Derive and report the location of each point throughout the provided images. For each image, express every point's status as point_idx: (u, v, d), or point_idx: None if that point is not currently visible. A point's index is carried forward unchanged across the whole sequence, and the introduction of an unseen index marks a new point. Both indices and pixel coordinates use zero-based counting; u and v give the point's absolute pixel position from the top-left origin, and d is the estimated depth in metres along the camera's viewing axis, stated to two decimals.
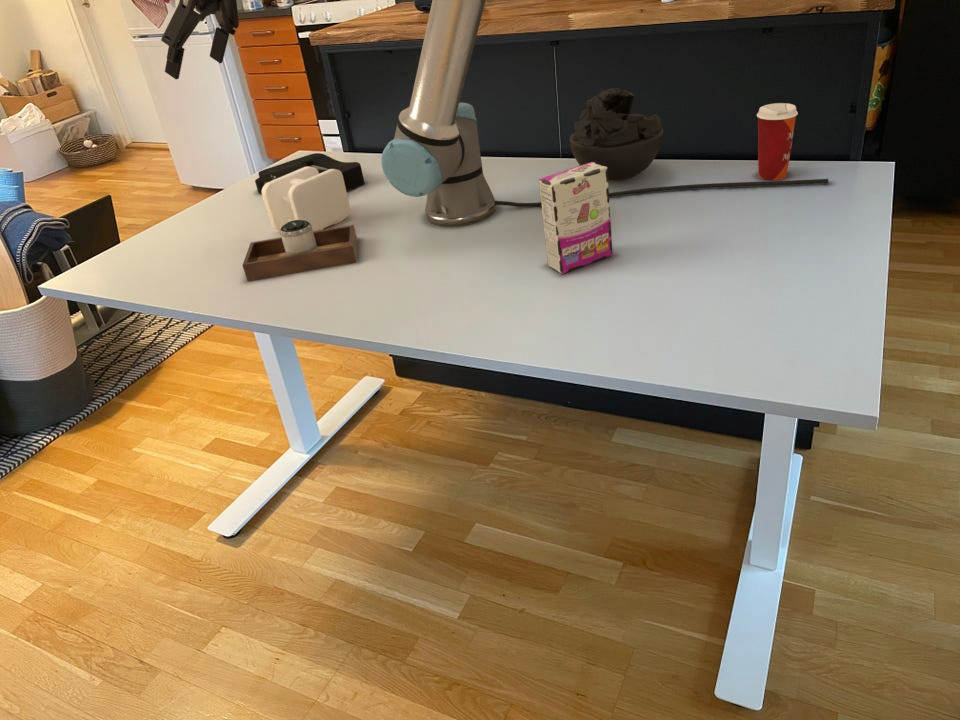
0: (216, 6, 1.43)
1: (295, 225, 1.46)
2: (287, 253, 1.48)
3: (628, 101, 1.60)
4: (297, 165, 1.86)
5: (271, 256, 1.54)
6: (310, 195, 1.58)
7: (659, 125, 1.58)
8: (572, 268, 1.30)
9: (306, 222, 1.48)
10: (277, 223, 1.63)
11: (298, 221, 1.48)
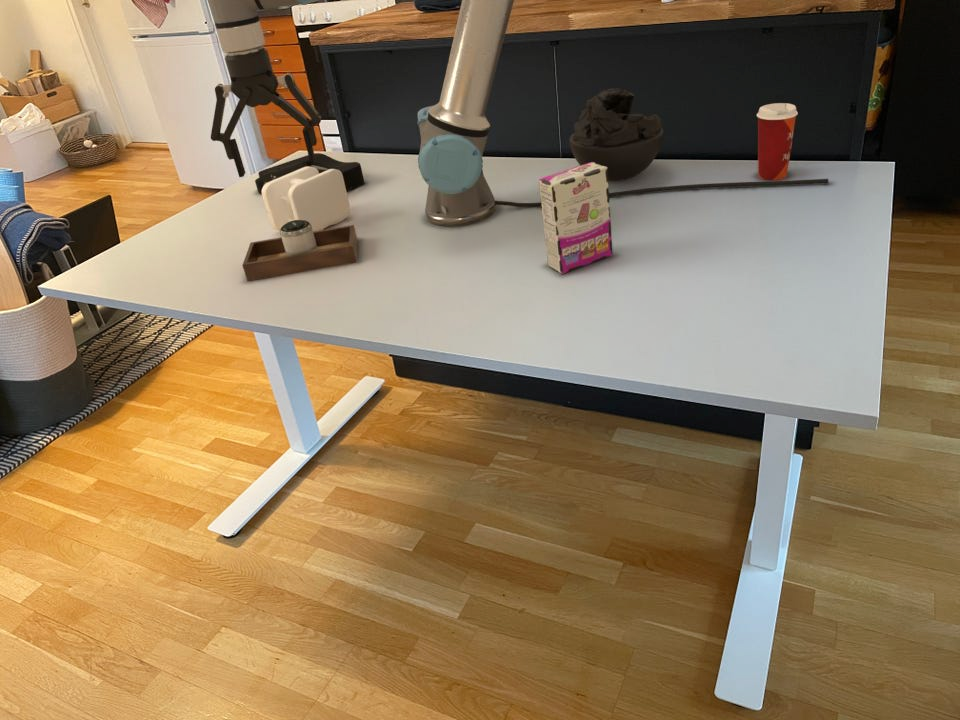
0: (263, 95, 1.34)
1: (295, 225, 1.46)
2: (287, 253, 1.48)
3: (628, 101, 1.60)
4: (297, 165, 1.86)
5: (271, 256, 1.54)
6: (310, 195, 1.58)
7: (659, 125, 1.58)
8: (572, 268, 1.30)
9: (306, 222, 1.48)
10: (277, 223, 1.63)
11: (298, 221, 1.48)
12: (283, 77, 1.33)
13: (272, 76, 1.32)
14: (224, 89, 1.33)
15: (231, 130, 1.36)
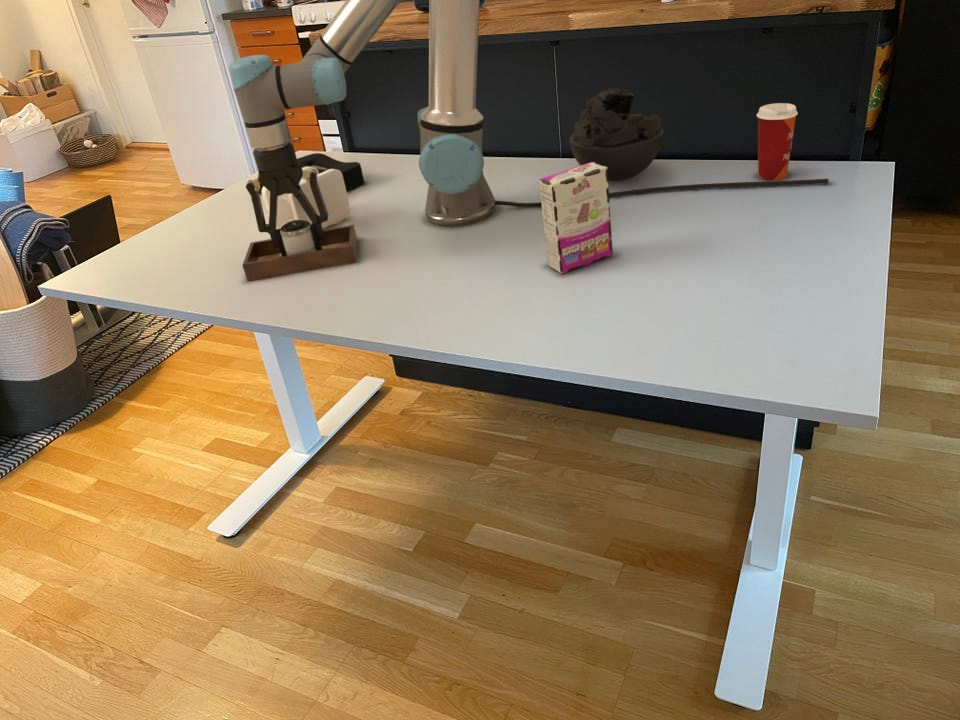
0: (286, 185, 1.42)
1: (295, 225, 1.46)
2: (287, 253, 1.48)
3: (628, 101, 1.60)
4: None
5: (271, 256, 1.54)
6: (310, 195, 1.58)
7: (659, 125, 1.58)
8: (572, 268, 1.30)
9: (306, 222, 1.48)
10: (276, 223, 1.63)
11: (298, 221, 1.48)
12: (309, 173, 1.42)
13: (297, 168, 1.41)
14: (254, 184, 1.42)
15: (274, 221, 1.45)
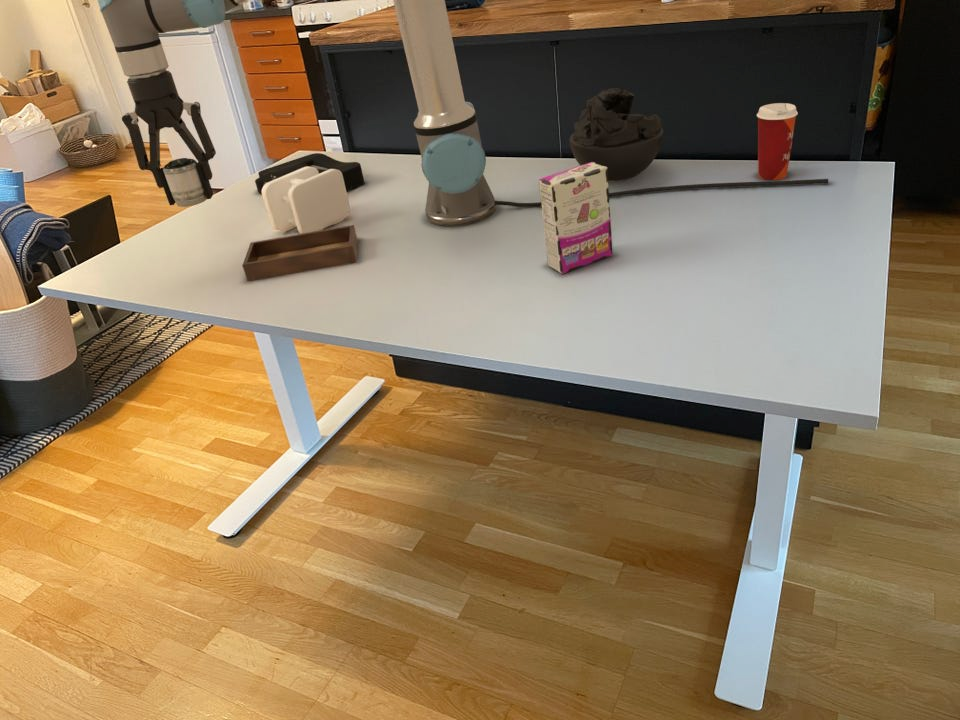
0: (165, 118, 1.33)
1: (179, 162, 1.38)
2: (172, 193, 1.40)
3: (628, 101, 1.60)
4: (297, 165, 1.86)
5: (271, 256, 1.54)
6: (310, 195, 1.58)
7: (659, 125, 1.58)
8: (572, 268, 1.30)
9: (192, 160, 1.39)
10: (276, 223, 1.63)
11: (183, 159, 1.39)
12: (190, 105, 1.33)
13: (176, 99, 1.32)
14: (131, 116, 1.33)
15: (155, 157, 1.36)
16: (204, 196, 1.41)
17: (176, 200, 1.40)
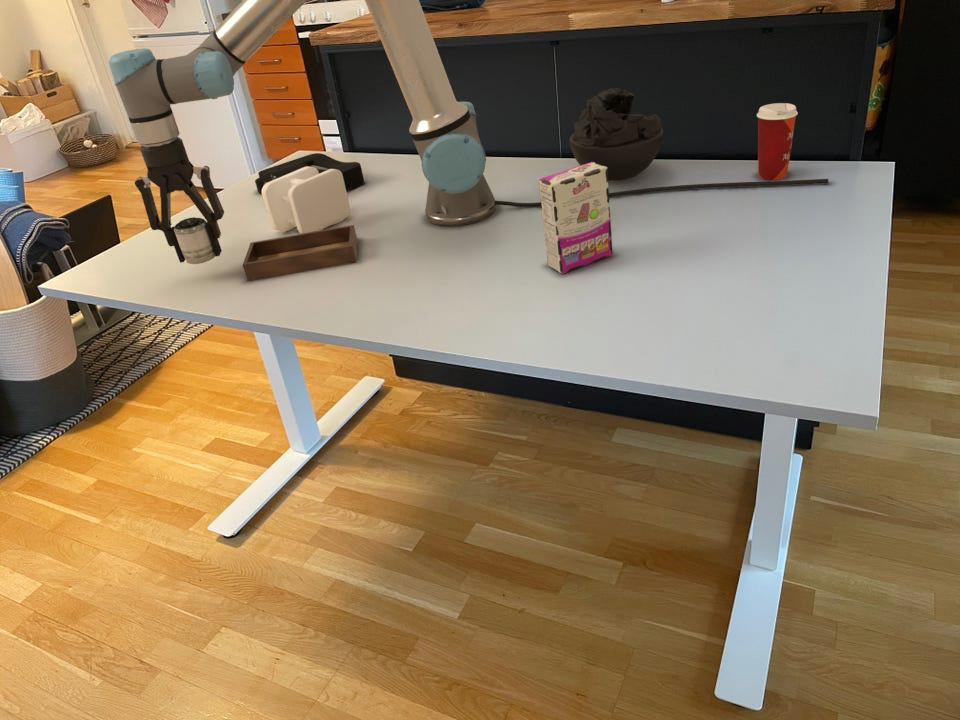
0: (176, 182, 1.39)
1: (189, 222, 1.44)
2: (182, 251, 1.46)
3: (628, 101, 1.60)
4: (297, 165, 1.86)
5: (271, 256, 1.54)
6: (310, 195, 1.58)
7: (659, 125, 1.58)
8: (572, 268, 1.30)
9: (201, 220, 1.45)
10: (276, 223, 1.63)
11: (193, 219, 1.45)
12: (200, 169, 1.39)
13: (187, 164, 1.38)
14: (143, 181, 1.39)
15: (166, 218, 1.42)
16: (213, 253, 1.47)
17: (186, 258, 1.46)
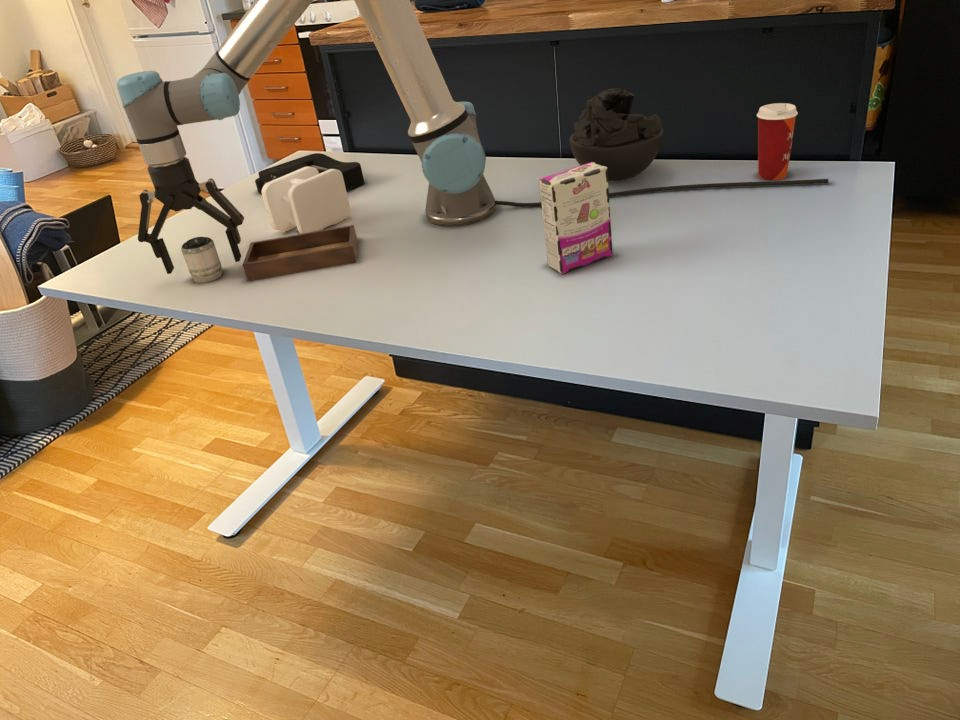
0: (186, 201, 1.41)
1: (196, 242, 1.46)
2: (189, 270, 1.48)
3: (628, 101, 1.60)
4: (297, 165, 1.86)
5: (271, 256, 1.54)
6: (310, 195, 1.58)
7: (659, 125, 1.58)
8: (572, 268, 1.30)
9: (208, 239, 1.47)
10: (277, 223, 1.63)
11: (200, 238, 1.47)
12: (204, 184, 1.41)
13: (194, 183, 1.40)
14: (149, 195, 1.41)
15: (157, 232, 1.44)
16: (220, 272, 1.49)
17: (193, 276, 1.48)
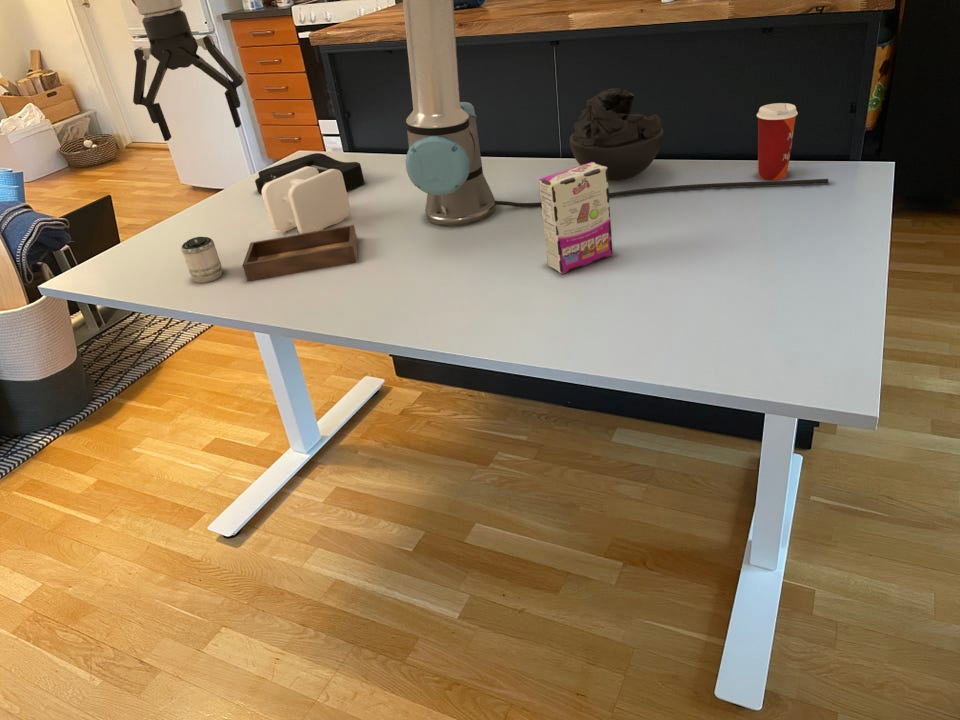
0: (182, 58, 1.36)
1: (196, 242, 1.46)
2: (189, 270, 1.48)
3: (628, 101, 1.60)
4: (297, 165, 1.86)
5: (271, 256, 1.54)
6: (310, 195, 1.58)
7: (659, 125, 1.58)
8: (572, 268, 1.30)
9: (208, 239, 1.47)
10: (276, 223, 1.63)
11: (200, 238, 1.47)
12: (202, 39, 1.35)
13: (191, 38, 1.34)
14: (144, 52, 1.35)
15: (153, 93, 1.38)
16: (220, 272, 1.49)
17: (193, 276, 1.48)
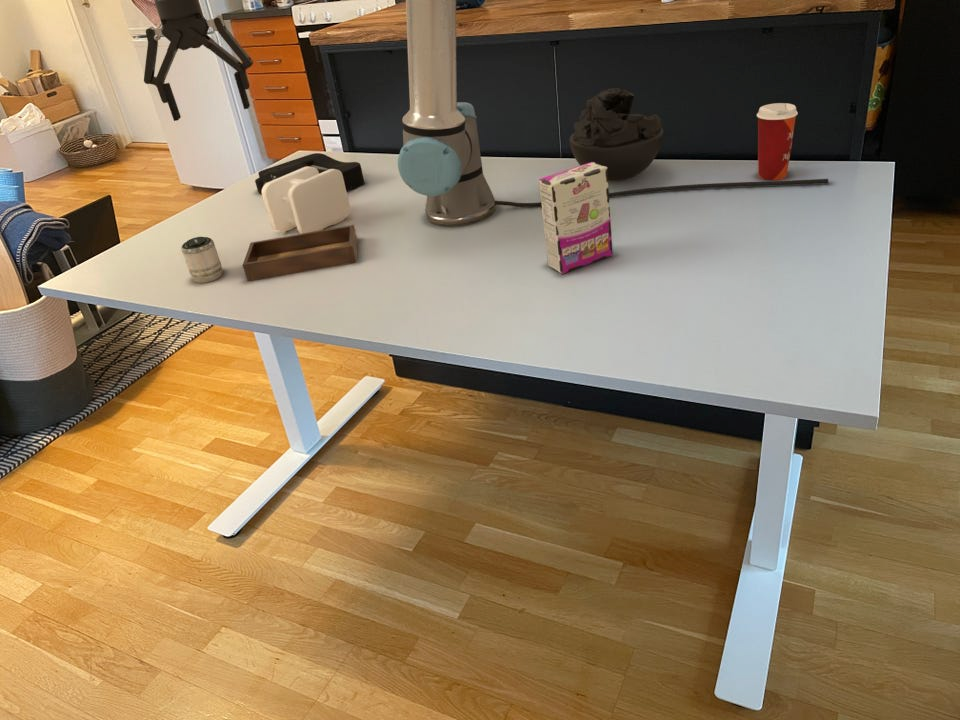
0: (193, 38, 1.37)
1: (196, 242, 1.46)
2: (189, 270, 1.48)
3: (628, 101, 1.60)
4: (297, 165, 1.86)
5: (271, 256, 1.54)
6: (310, 195, 1.58)
7: (659, 125, 1.58)
8: (572, 268, 1.30)
9: (208, 239, 1.47)
10: (276, 223, 1.63)
11: (200, 238, 1.47)
12: (213, 20, 1.37)
13: (202, 19, 1.36)
14: (155, 32, 1.36)
15: (164, 73, 1.39)
16: (220, 272, 1.49)
17: (193, 276, 1.48)
